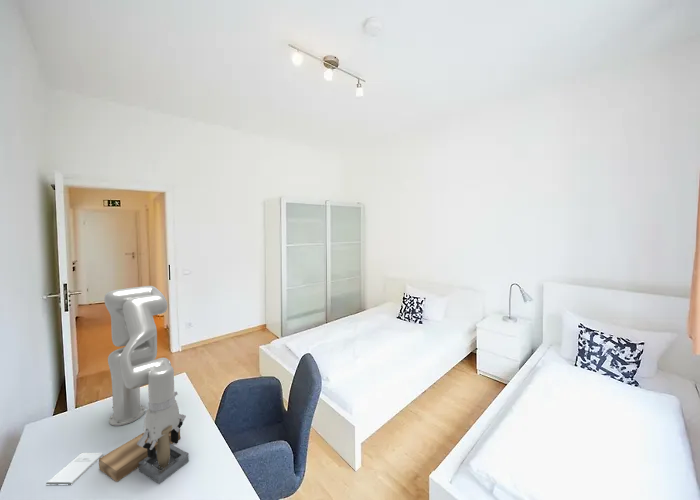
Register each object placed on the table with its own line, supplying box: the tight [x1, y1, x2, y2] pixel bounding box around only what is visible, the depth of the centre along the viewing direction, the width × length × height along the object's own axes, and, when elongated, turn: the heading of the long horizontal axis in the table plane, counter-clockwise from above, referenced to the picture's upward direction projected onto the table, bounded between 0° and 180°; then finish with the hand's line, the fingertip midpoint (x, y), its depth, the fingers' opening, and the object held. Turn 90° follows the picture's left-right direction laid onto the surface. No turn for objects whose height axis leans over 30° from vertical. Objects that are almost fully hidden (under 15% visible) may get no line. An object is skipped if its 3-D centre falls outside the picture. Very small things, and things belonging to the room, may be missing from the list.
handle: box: [156, 426, 172, 470], centre depth 101 cm, size 5×6×15 cm
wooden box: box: [98, 430, 181, 483], centre depth 107 cm, size 11×22×4 cm, turn 155°
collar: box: [138, 444, 190, 485], centre depth 102 cm, size 12×10×3 cm
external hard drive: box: [45, 452, 104, 486], centre depth 100 cm, size 2×8×12 cm
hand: (163, 449), depth 102 cm, fingers open, 7 cm apart
